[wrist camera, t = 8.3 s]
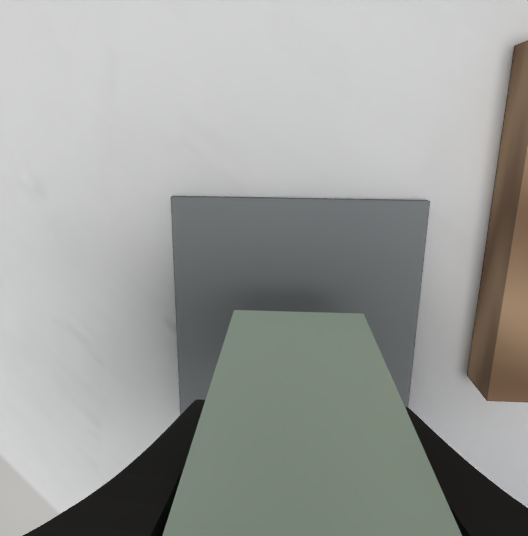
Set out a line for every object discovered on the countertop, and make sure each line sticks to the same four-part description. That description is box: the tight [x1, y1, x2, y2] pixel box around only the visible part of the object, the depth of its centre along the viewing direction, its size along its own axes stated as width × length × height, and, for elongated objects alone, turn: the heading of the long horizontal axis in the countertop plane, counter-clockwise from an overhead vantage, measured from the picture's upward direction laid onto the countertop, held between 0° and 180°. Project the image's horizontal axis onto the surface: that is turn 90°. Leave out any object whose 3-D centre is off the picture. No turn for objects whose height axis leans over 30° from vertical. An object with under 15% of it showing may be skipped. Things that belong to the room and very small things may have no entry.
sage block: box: [163, 310, 462, 536], centre depth 10 cm, size 4×4×9 cm
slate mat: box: [171, 196, 430, 415], centre depth 19 cm, size 10×10×1 cm
